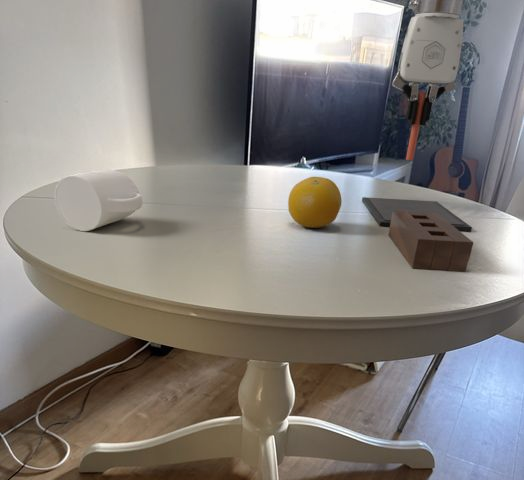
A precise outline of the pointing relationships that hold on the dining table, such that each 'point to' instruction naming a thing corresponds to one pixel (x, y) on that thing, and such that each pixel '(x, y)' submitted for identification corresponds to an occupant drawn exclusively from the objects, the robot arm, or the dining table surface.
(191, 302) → the dining table surface
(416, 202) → the tablet
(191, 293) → the dining table surface
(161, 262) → the dining table surface
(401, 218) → the pen stand
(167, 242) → the dining table surface
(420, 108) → the stylus
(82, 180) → the mug
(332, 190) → the fruit
